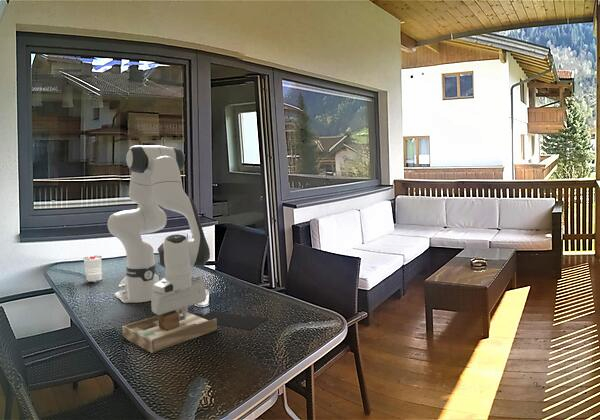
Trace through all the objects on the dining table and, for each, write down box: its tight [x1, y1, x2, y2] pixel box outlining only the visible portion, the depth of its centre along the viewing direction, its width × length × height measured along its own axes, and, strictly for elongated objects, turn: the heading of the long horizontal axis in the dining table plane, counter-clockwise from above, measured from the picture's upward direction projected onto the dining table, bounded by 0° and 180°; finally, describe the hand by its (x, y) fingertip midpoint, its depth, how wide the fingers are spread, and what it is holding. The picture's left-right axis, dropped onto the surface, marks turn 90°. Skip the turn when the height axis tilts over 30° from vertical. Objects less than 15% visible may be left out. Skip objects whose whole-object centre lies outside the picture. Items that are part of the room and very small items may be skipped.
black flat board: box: [192, 310, 269, 331], centre depth 177 cm, size 12×1×30 cm
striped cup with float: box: [83, 255, 103, 281], centre depth 235 cm, size 10×8×12 cm
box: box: [121, 308, 218, 354], centre depth 163 cm, size 20×25×4 cm
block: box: [157, 311, 180, 331], centre depth 162 cm, size 5×5×5 cm
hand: (181, 319), depth 166 cm, fingers closed
